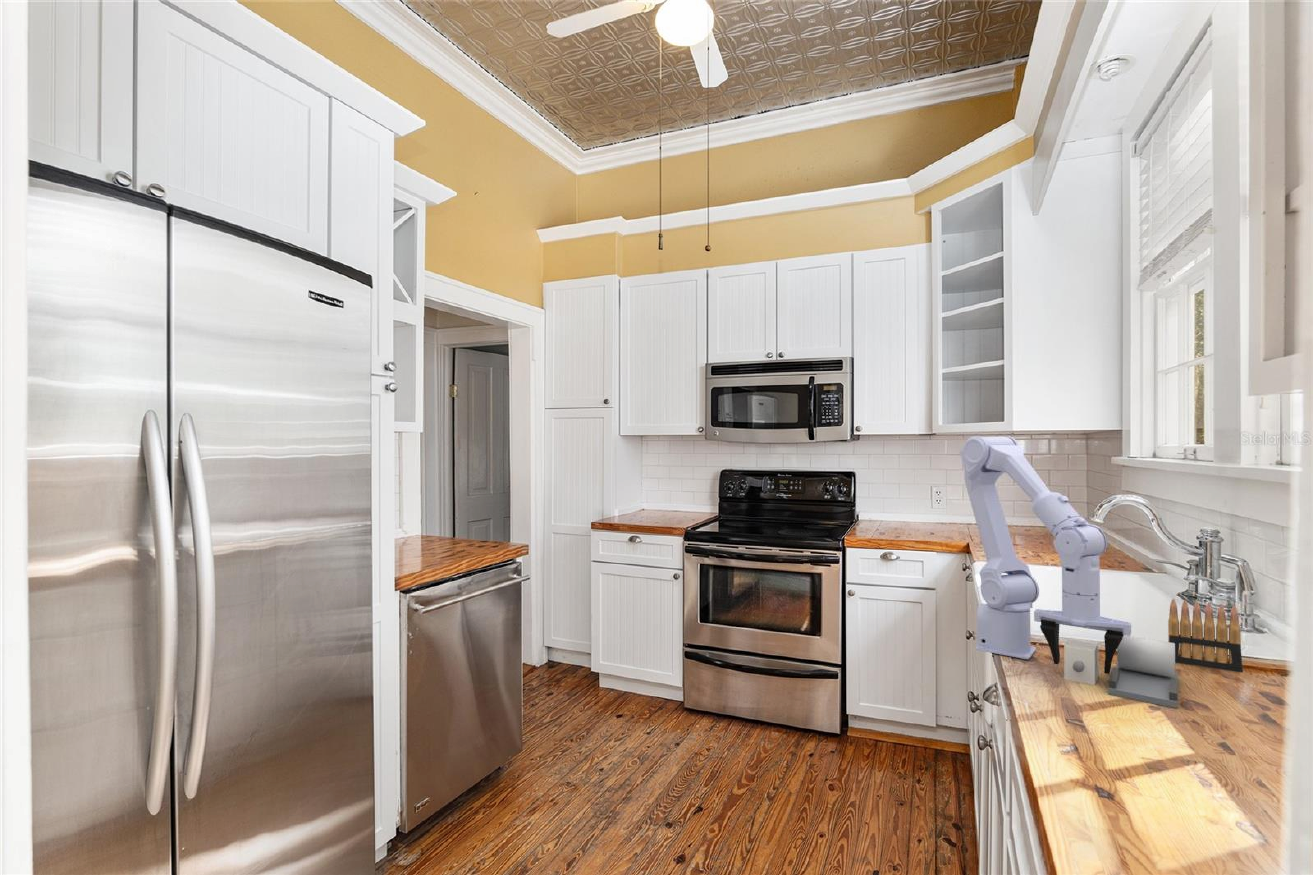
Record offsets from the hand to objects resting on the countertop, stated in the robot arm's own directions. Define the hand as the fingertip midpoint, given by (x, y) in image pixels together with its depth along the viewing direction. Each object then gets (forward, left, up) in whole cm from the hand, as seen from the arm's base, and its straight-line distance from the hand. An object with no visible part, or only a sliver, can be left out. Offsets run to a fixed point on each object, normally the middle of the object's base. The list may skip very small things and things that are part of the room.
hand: (1081, 667), depth 115 cm
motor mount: (+9, +2, -2) cm, 9 cm away
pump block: (0, 0, -2) cm, 2 cm away
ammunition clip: (+17, +22, -2) cm, 27 cm away
